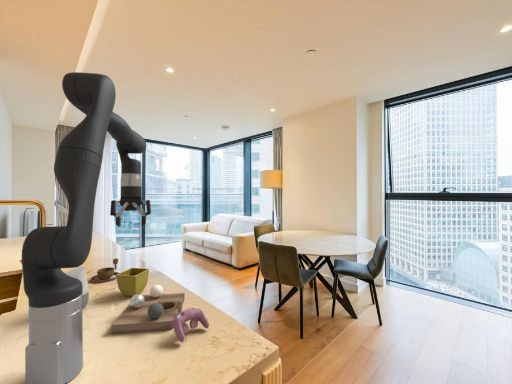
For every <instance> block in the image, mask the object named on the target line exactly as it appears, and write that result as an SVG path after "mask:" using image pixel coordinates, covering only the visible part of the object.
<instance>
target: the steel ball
mask: <svg viewBox="0 0 512 384" xmlns="http://www.w3.org/2000/svg"><path fill="white" fill-rule="evenodd" d="M143 295H144V294H141V293H139V294H136V295H134V296H131V298H130V300H129V305H131V307H132V308H140V307H141V306H142V305H143V304H144V301H145V299H144V296H143Z"/></svg>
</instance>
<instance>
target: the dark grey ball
mask: <svg viewBox="0 0 512 384" xmlns="http://www.w3.org/2000/svg"><path fill="white" fill-rule="evenodd" d="M162 313H163V306H162V305H161V304H160V303H153V304H152V305H151V306H150V307H149V308H148V316H149V317H150V318H152V319H156V318H159V317H160V316H161V315H162Z"/></svg>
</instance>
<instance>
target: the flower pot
mask: <svg viewBox="0 0 512 384" xmlns="http://www.w3.org/2000/svg"><path fill="white" fill-rule="evenodd" d="M118 273H119V274H117V275H115V277H117V279H116V282H117V283H116V284H117V287H118V290H119V291H120V292H121V294H122V295H123V296H127V297H133V296H134V295H136V294H141V293H142V292H144V290H145V288H146V286H147V284H148V281H149V275H150V268H141V267H130V268H128V269H127V270H124V271H121V272H118Z"/></svg>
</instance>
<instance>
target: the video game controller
mask: <svg viewBox="0 0 512 384" xmlns="http://www.w3.org/2000/svg"><path fill="white" fill-rule="evenodd" d="M188 321H189V324H187V322H188ZM199 323H200V324H201V325H202V326H203V327H204V328H205V329H209V327H210V324H209V320H208V318H207V317H206V314H205V313H204V311H203V310H202V309H201V308H200V307H191V308H187V309H185V310H182V312H181V313H179V314H178V315H177V316H176V317H175V318H174V319H173V320H172V327H173V330H174V331H173V332H174V334H175V337H177V340H178V341H179V342H181V343H183V342H184V341H185V334H186V333H188V332H189V330H190V329H193V330H194V329H197V328H198V327H199V325H198V324H199Z"/></svg>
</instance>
